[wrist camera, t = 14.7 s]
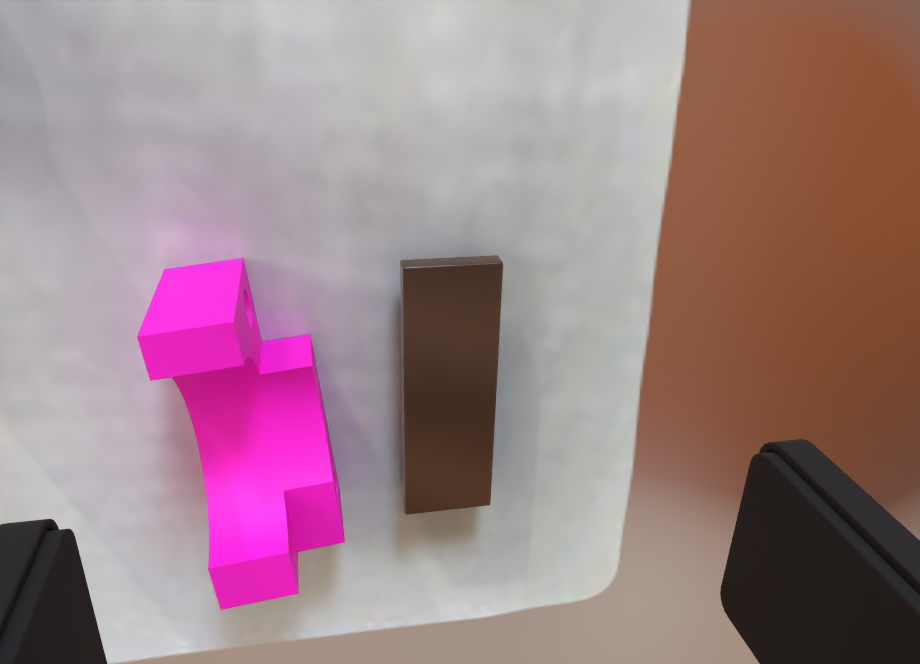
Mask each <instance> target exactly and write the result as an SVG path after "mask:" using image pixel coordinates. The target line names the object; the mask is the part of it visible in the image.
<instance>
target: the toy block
mask: <svg viewBox="0 0 920 664" xmlns="http://www.w3.org/2000/svg"><path fill="white" fill-rule="evenodd" d="M137 339H138V342H139V345H140V348H141V352H142V355H143V358H144V361H145V365H146V368H147V371H148V374H149V378H150V381H151V380H158V379H164V378H170V377H172V378H173V380H174V381H175V383H176V384H177V386H178V388H179V389H180V391H181V393H182V396H183V398H184V400H185V403H186V405H187V408H188V411H189V414H190V417H191V420H192V423H193V427H194V430H195V434H196V438H197V443H198V447H199V452H200V457H201V462H202V468H203V474H204V481H205V488H206V497H207V507H208V521H209V564H208V570H209V573H210V576H211V579H212V583H213V586H214V589H215V592H216V596H217V599H218V602H219V606H220V609H221V610H222V609H227V608H232V607H236V606H241V605H246V604H251V603H255V602H260V601H265V600H270V599H274V598H279V597H284V596H289V595H293V594H298V552H299V551H304V550H309V549H314V548H319V547H324V546H329V545H334V544H338V543H343V542H345V539H344V529H343V519H342V510H341V500H340V490H339V485H338V479H337V474H336V469H335V464H334V458H333V453H332V448H331V442H330V437H329V432H328V426H327V421H326V416H325V411H324V405H323V400H322V395H321V389H320V384H319V379H318V374H317V368H316V363H315V358H314V352H313V347H312V342H311V336H310V334H309V335H303V336H297V337H290V338H284V339H278V340H272V341H265V342H262V341H261V336H260V332H259V327H258V323H257V318H256V314H255V309H254V305H253V300H252V296H251V291H250V287H249V282H248V278H247V274H246V269H245V265H244V260H243V258H242V259H235V260H228V261H221V262H214V263H207V264H200V265H193V266H186V267H179V268H172V269H165V270H164V272H163V274H162V276H161V279H160V281H159V284H158V286H157V289H156V291H155V294H154V296H153V299H152V301H151V304H150V306H149V308H148V311H147V313H146V316H145V318H144V321H143V323H142V326H141V328H140V331H139V333H138V336H137Z"/></svg>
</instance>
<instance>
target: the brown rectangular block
mask: <svg viewBox="0 0 920 664" xmlns="http://www.w3.org/2000/svg"><path fill="white" fill-rule="evenodd" d="M502 274H503V262H502V261H501V259H500V258H499V257H498V256H478V257H458V258H437V259H416V260H401V262H400V278H401V377H402V476H403V506H404V511H405V514H415V513H424V512H433V511H441V510H450V509H459V508H468V507H476V506H485V505H490V500H491V481H492V462H493V444H494V425H495V406H496V387H497V368H498V349H499V330H500V312H501V293H502Z"/></svg>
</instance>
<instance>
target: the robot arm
mask: <svg viewBox="0 0 920 664" xmlns="http://www.w3.org/2000/svg"><path fill="white" fill-rule="evenodd" d="M720 593H721V600H722V605H723V608H724V611H725V612H726V614H727V616H728V618H729V619H730V621H731V622H732V623H733V625H734V626H735V628H736V629H737V631H738V632H739V634H740V635H741V637H742V638H743V640H744V641H745V642H746V644H747V645H748V647H749V648H750V650H751V651H752V653H753V654H754V656H755V657H756V659H757V660H758V662H759V663H760V664H920V541H919V540H918V539H917V538H916V537H915V536H914V535H913V534H912V533H911V532H909V531H908V530H907V529H906V528H905V527H904V526H903V525H902V524H901V523H899V522H898V521H897V520H896V519H895V518H894V517H893V516H892V515H891V514H889V513H888V512H887V511H886V510H885V509H884V508H883V507H882V506H881V505H879V504H878V503H877V502H876V501H875V500H874V499H873V498H872V497H871V496H869V495H868V494H867V493H866V492H865V491H864V490H863V489H862V488H861V487H860V486H859V485H857V484H856V483H855V482H854V481H853V480H852V479H851V478H850V477H849V476H847V475H846V474H845V473H844V472H843V471H842V470H841V469H840V468H838V466H836V465H835V464H834V463H833V462H832V461H831V460H830V459H829V458H828V457H826V456H825V455H824V454H823V453H822V452H821V451H820V450H819V449H818V448H817V447H815V446H814V445H813V444H812V443H810V442H809V441H807V440H803V439H799V440H789V441H779V442H770V443H767V444H764V445H763V447H762V448H761V449H760V452H759V454H756V455H754V456H753V458H752V459H751V462H750V466H749V470H748V474H747V479H746V483H745V487H744V491H743V496H742V500H741V504H740V509H739V513H738V517H737V521H736V526H735V530H734V534H733V538H732V543H731V547H730V551H729V556H728V560H727V564H726V569H725V572H724V577H723V581H722V585H721V592H720ZM0 664H107V661H106V657H105V653H104V649H103V645H102V641H101V637H100V634H99V630H98V626H97V622H96V618H95V614H94V610H93V606H92V602H91V598H90V594H89V590H88V586H87V582H86V578H85V574H84V570H83V566H82V562H81V558H80V555H79V551H78V547H77V543H76V539H75V536H74V533H73V531H72V530H71V529H62V530H59V529H58V526H57V524H56V522H55V521H54V520H52V519H44V520H35V521H26V522H16V523H7V524H2V525H0Z"/></svg>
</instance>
